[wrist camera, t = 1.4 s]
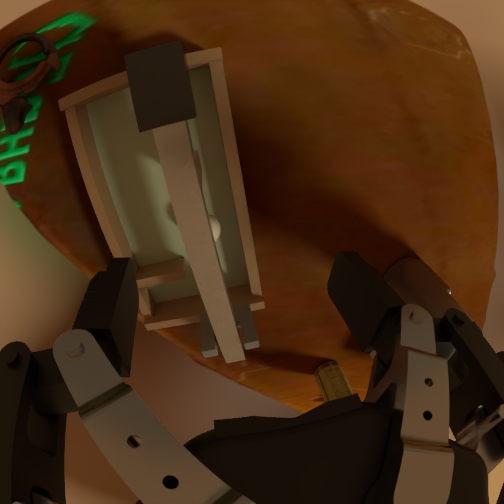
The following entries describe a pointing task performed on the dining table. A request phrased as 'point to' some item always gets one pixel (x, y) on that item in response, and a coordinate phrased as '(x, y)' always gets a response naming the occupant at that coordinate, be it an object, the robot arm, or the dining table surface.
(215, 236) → the ball
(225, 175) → the wooden tray
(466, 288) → the dining table surface
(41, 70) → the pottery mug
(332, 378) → the sauce bottle
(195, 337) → the dining table surface
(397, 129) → the dining table surface
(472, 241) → the dining table surface
